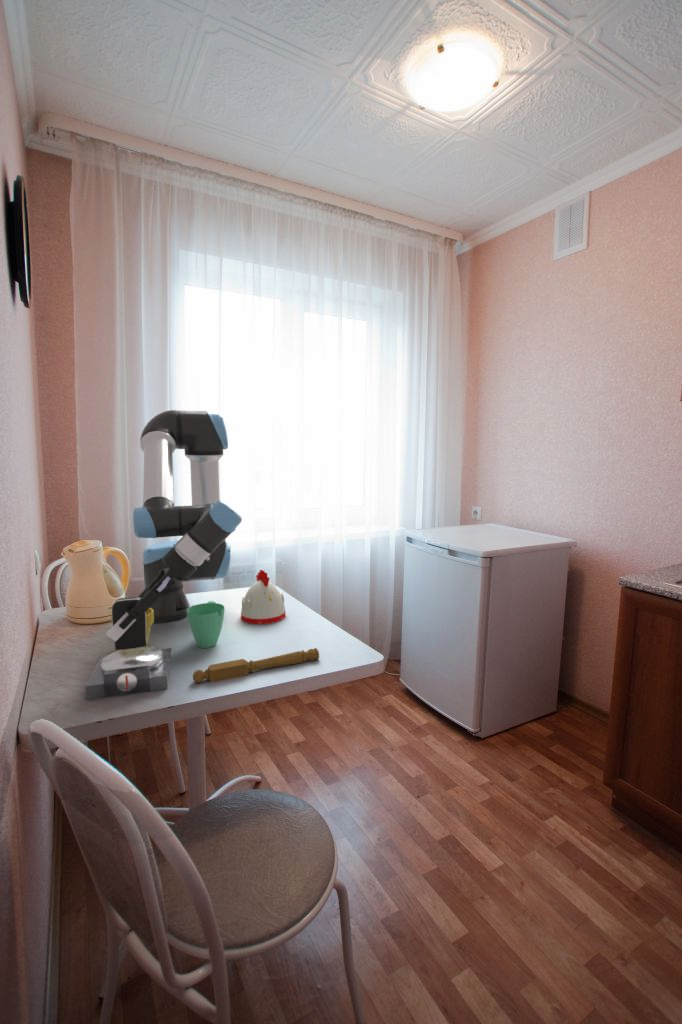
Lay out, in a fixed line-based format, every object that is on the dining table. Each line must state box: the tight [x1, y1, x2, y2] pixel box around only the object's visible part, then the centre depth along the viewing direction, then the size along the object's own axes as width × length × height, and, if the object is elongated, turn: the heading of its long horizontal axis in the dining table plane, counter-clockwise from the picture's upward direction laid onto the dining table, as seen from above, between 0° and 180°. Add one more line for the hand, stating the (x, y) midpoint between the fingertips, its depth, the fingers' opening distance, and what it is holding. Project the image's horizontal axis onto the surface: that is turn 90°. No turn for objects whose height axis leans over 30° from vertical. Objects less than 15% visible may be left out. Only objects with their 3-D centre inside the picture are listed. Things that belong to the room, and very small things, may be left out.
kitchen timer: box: [240, 569, 286, 625], centre depth 150 cm, size 14×14×15 cm
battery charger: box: [111, 596, 147, 651], centre depth 109 cm, size 7×4×11 cm, turn 108°
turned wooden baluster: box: [192, 647, 320, 684], centre depth 113 cm, size 3×3×30 cm
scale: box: [84, 645, 173, 701], centre depth 109 cm, size 16×16×5 cm
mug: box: [186, 600, 225, 649], centre depth 130 cm, size 15×10×10 cm
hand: (112, 633), depth 108 cm, fingers closed on battery charger, 4 cm apart
